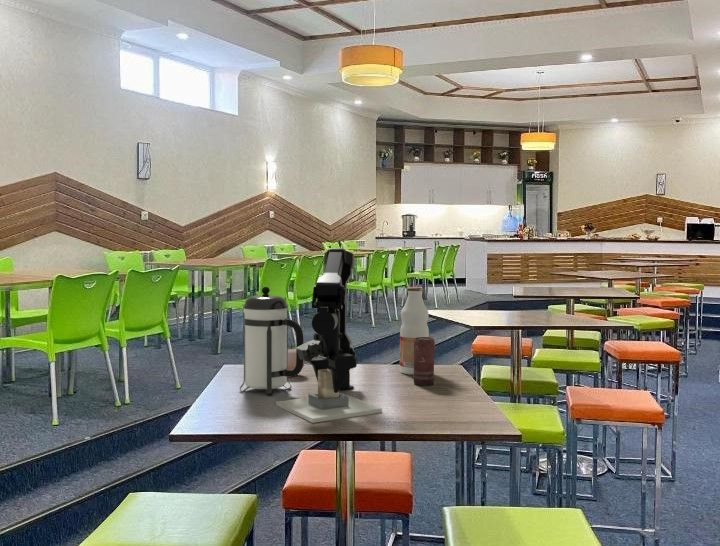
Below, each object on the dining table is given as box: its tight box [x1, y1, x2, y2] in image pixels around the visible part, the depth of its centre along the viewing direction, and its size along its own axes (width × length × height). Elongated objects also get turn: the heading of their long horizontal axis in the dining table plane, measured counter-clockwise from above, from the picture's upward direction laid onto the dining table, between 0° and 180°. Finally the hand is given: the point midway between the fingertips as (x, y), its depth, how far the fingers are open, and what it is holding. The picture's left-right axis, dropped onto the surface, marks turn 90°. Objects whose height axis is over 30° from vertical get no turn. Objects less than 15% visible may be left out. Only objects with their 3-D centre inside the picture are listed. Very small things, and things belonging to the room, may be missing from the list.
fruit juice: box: [399, 286, 430, 376], centre depth 231 cm, size 9×9×28 cm
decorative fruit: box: [288, 344, 306, 371], centre depth 225 cm, size 9×8×10 cm
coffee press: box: [239, 286, 304, 397], centre depth 203 cm, size 17×16×30 cm
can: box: [412, 336, 436, 387], centre depth 214 cm, size 6×6×14 cm
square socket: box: [307, 392, 349, 410], centre depth 183 cm, size 8×8×2 cm
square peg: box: [317, 369, 340, 399], centre depth 183 cm, size 4×4×9 cm
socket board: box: [276, 392, 383, 424], centre depth 183 cm, size 20×20×1 cm
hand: (328, 389), depth 183 cm, fingers open, 8 cm apart
